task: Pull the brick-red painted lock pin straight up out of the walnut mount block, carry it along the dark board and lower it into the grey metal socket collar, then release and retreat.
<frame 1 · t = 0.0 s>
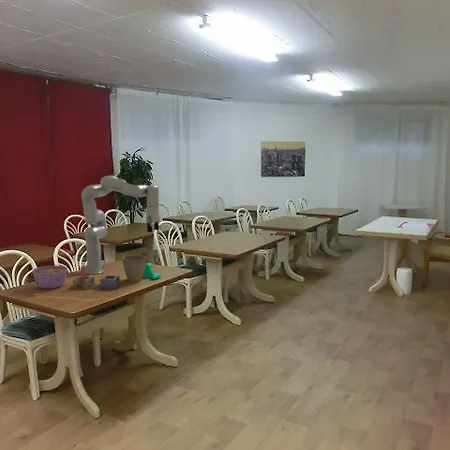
hand: (153, 231, 302), 31 cm above the table, fingers open, 9 cm apart
plant pot: (134, 282, 297), on the table
socket: (110, 287, 280), resting on board
mount: (83, 282, 281), on the board, point 4 cm above the table
bowl of food: (50, 288, 282), on the table
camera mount: (151, 278, 307), on the table
board: (97, 288, 281), on the table
pin: (83, 276, 280), in the mount, point 7 cm above the table, touching board
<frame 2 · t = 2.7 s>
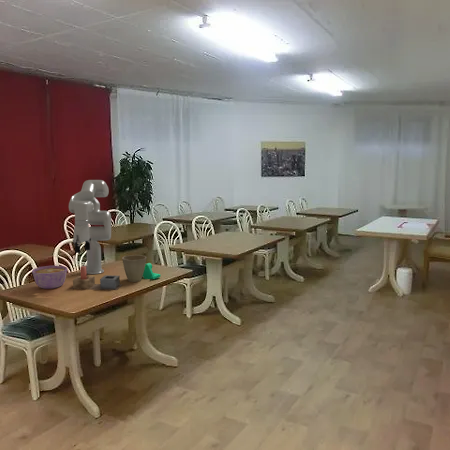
hand: (82, 251, 278), 23 cm above the table, fingers open, 9 cm apart
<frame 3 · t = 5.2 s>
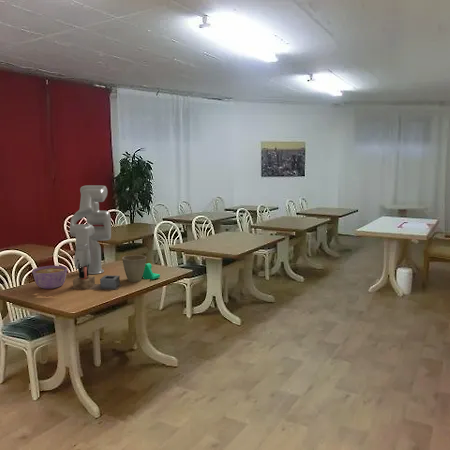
hand: (83, 276, 280), 7 cm above the table, fingers closed on pin, 3 cm apart
pin: (83, 276, 280), in the mount, point 7 cm above the table, touching board, gripper
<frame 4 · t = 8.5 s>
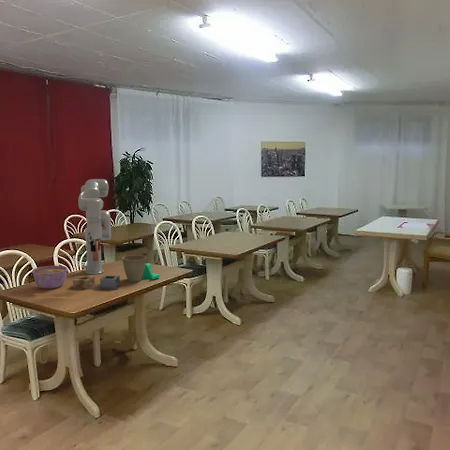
hand: (95, 250, 277), 23 cm above the table, fingers closed on pin, 3 cm apart
pin: (95, 250, 277), point 23 cm above the table, touching gripper
when the fingers open (9 cm above the table, at t = 11.7 s): pin drops 2 cm, resting on board.
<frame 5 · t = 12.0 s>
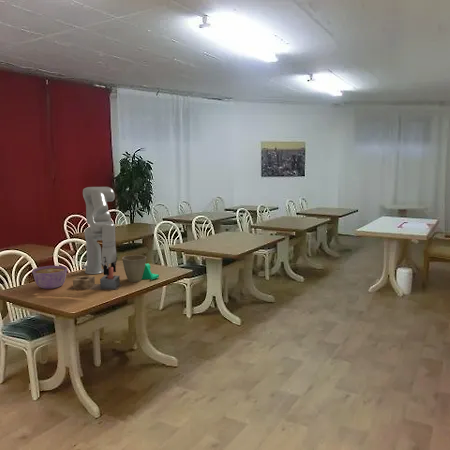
hand: (109, 273, 279), 10 cm above the table, fingers open, 7 cm apart
pin: (110, 277, 279), in the socket, point 7 cm above the table, touching board
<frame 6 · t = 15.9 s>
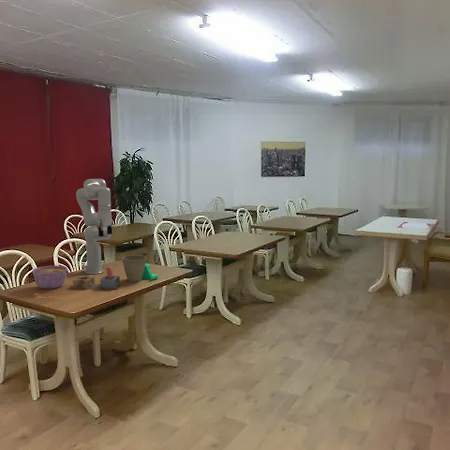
hand: (105, 235, 290), 30 cm above the table, fingers open, 9 cm apart
at the end: pin 0.1 cm off-centre on the socket, point 6.0 cm above the socket's base; pin tilted 1°; the gripper is holding nothing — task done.
